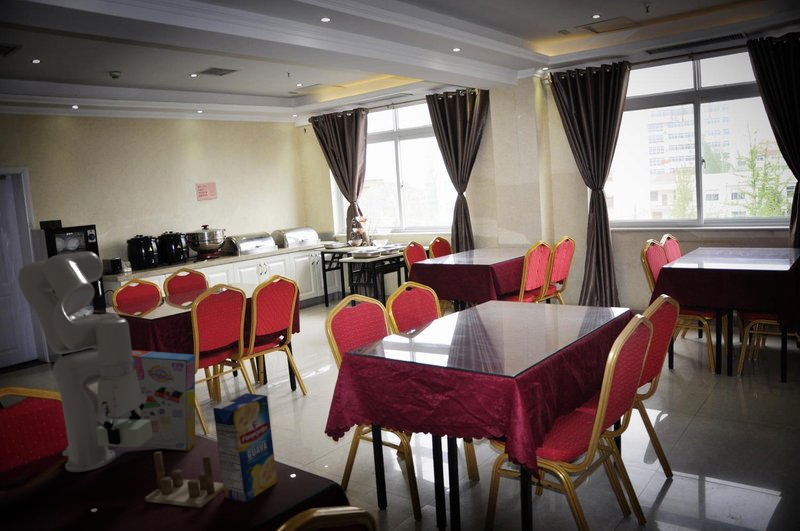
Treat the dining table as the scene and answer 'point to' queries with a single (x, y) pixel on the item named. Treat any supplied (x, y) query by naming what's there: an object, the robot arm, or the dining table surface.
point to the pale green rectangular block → (127, 433)
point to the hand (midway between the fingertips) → (125, 437)
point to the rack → (184, 486)
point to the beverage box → (245, 446)
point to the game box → (167, 398)
